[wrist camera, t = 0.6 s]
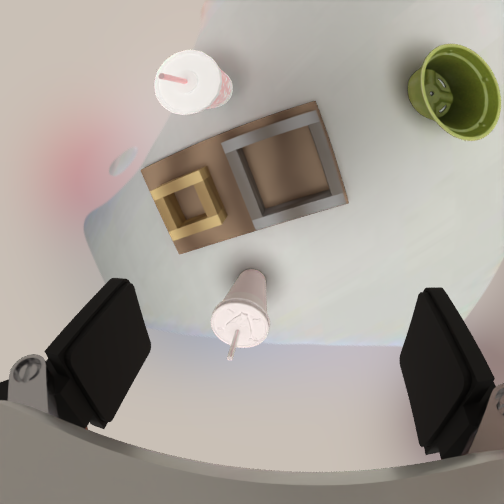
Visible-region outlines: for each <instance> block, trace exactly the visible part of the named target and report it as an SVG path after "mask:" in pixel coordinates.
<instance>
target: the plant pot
mask: <svg viewBox="0 0 504 504" xmlns="http://www.w3.org/2000/svg"><path fill="white" fill-rule="evenodd" d="M438 79H440V80H442V81H443V82H444V84H445V86H446V88H444V87H443V85H442V84H441V82H440V81H439V80H438ZM431 91H432V92H433V93H434V94H433V95H432V96H431V95H430V92H431ZM408 96H409V100H410V102H411V104H412V106H413V107H414V108H415V109H416V111H417V112H419V113H420V114H421V115H423V116H424V117H427V118H429V119H431V120H434V121H436V122H437V124H438V125H439V126H440V127H441V128H442V129H444V130H445V131H446V132H447V133H449V134H451V135H452V136H454V137H456V138H459V139H462V140H467V141H475V140H479V139H482V138H484V137H485V136H487V135H488V134H489V133H490V132H491V131H492V130H493V129H494V127H495V126H496V124H497V122H498V119H499V115H500V110H501V96H500V90H499V86H498V83H497V80H496V78H495V76H494V74H493V72H492V70H491V69H490V67H489V66H488V65H487V63H486V62H485V61H484V60H483V59H482V58H481V57H480V56H479V55H478V54H476V53H475V52H474V51H472V50H471V49H469V48H467V47H464V46H462V45H458V44H444V45H441V46H438V47H437V48H435V49H434V50H432V51H431V52H430V53H429V54H428V56H427V57H426V58H425V60H424V62H423V65H422V67H421V68H420V69H419V70H417V71H416V72H415V73H414V74H413V75H412V76H411V78H410V79H409V82H408ZM445 105H446V109H445V110H444V111H443V112H439V110H441V109H442V108H443V107H444V106H445Z"/></svg>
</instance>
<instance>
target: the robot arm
mask: <svg viewBox="0 0 504 504" xmlns="http://www.w3.org/2000/svg"><path fill="white" fill-rule="evenodd" d="M150 350H151V342H150V339H149V336H148V333H147V330H146V326H145V323H144V320H143V316H142V313H141V310H140V306H139V303H138V299H137V296H136V292H135V288H134V286H133V284H131V283H130V282H129V280H128V279H121V278H112V279H110V280H109V281H108V282H107V283H106V284H105V285H104V286H103V288H101V290H100V291H99V292H98V293H97V294H96V295H95V296H94V297H93V298H92V299H91V300H90V301H89V302H88V303H87V304H86V305H85V306H84V307H83V309H82V310H81V311H80V312H79V313H78V314H77V315H76V316H75V317H74V319H72V321H71V322H70V323H69V324H68V325H67V326H66V327H65V328H64V329H63V331H62V332H61V333H60V334H59V335H58V336H57V337H56V339H55V340H54V341H53V342H52V343H51V345H50V346H49V347H48V348H47V349H46V350H45V353H46V354H47V356H48V360H47V361H45V360H44V358H43V357H41V356H40V355H35V354H32V355H27V356H25V357H22V358H21V359H19V360H18V361H17V362H16V363H15V364H14V365H13V367H12V368H11V371H10V375H9V380H6V381H3V382H0V504H504V383H503V384H500V385H498V386H495V384H494V382H493V381H494V376H493V374H492V372H491V370H490V368H489V366H488V364H487V362H486V360H485V358H484V356H483V354H482V353H481V351H480V349H479V347H478V345H477V344H476V342H475V340H474V338H473V336H472V335H471V333H470V331H469V329H468V328H467V326H466V324H465V323H464V321H463V319H462V318H461V316H460V314H459V313H458V311H457V309H456V308H455V306H454V305H453V303H452V301H451V300H450V298H449V297H448V295H447V294H446V292H445V291H444V289H443V288H425V289H424V291H423V292H421V293H420V294H419V295H418V299H417V302H416V306H415V310H414V313H413V317H412V320H411V323H410V327H409V330H408V333H407V336H406V339H405V342H404V345H403V348H402V351H401V354H400V367H401V370H402V374H403V377H404V381H405V385H406V388H407V392H408V396H409V400H410V405H411V409H412V413H413V417H414V422H415V426H416V431H417V436H418V440H419V444H420V446H421V447H424V448H425V454H426V455H428V454H433V453H437V452H439V453H440V456H441V460H437V461H432V462H426V463H420V464H414V465H407V466H400V467H391V468H383V469H373V470H361V471H344V472H291V471H272V470H259V469H249V468H241V467H233V466H225V465H219V464H212V463H207V462H201V461H195V460H191V459H186V458H181V457H177V456H172V455H167V454H164V453H160V452H156V451H151V450H148V449H145V448H141V447H137V446H134V445H131V444H127V443H124V442H121V441H118V440H115V439H112V438H109V437H106V436H103V435H100V434H98V433H95V432H92V431H90V430H88V428H87V425H88V424H89V422H90V423H91V424H92V425H94V426H97V427H100V428H102V429H104V428H105V426H106V424H107V423H108V422H111V421H112V420H113V418H114V416H115V414H116V412H117V411H118V409H119V407H120V405H121V403H122V401H123V399H124V398H125V396H126V394H127V392H128V390H129V388H130V387H131V385H132V383H133V381H134V379H135V378H136V376H137V374H138V372H139V370H140V369H141V367H142V365H143V363H144V361H145V360H146V358H147V356H148V354H149V353H150Z"/></svg>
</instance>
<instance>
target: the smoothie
mask: <svg viewBox="0 0 504 504" xmlns="http://www.w3.org/2000/svg"><path fill="white" fill-rule="evenodd" d="M211 326H212V329H213V331H214V333H215V335H216V336H217V337H218V338H219V339H220V340H222V341H223V342H225V343H227V344H228V345H231V347H230V350H229V353H228V357H227V359H228V360H230V361H231V360H233V356H234V353H235V349H236V347H239V348H249V347H253V346H256V345H258V344H260V343H261V342H263V341H264V340H265V338H266V337H267V334H268V331H269V327H270V319H269V317H268V314H267V300H266V279H265V276H264V275H263V274H262V273H261V272H260V271H258V270H255V269H247V270H245V271H243V272H242V273H241V274H240V275H239V277H238V278H237V280H236V282H235V283H234V285H233V286H232V288H231V289H230V291H229V292H228V294H227V295H226V297H225V298H224V300H223V301H222V302H220V303H219V304H218V305H217V306H216V307H215V309H214V311H213V315H212V317H211Z"/></svg>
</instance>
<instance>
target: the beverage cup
mask: <svg viewBox="0 0 504 504" xmlns="http://www.w3.org/2000/svg"><path fill="white" fill-rule="evenodd" d="M154 86H155V94H156V97H157V99H158V100H159V102H160V104H161V105H162V106H163V107H164V108H166V109H167V110H169V111H170V112H171V113H175V114H181V115H189V114H194V113H199V112H201V111H203V110H204V109H210V108H216V107H220V106H222V105H224V104H225V103H227V101H228V100H229V99H230V97H231V96H232V92H233V84H232V81H231V79H230V78H229V76H228V75H227V74H226V73H225V72H223V71H222V70H221V69H220V68H219V67H218V65H217V63H216V62H215V60H214V59H213V58H211V57H210V56H208V55H206V54H205V53H203V52H201V51H196V50H185V51H181V52H177V53H175V54H173V55H172V56H170V57H169V58H168V59H166V60H165V61H164V62H163V64H162V65H161V66H160V68H159V69H158V71H157V74H156V78H155V82H154Z"/></svg>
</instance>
